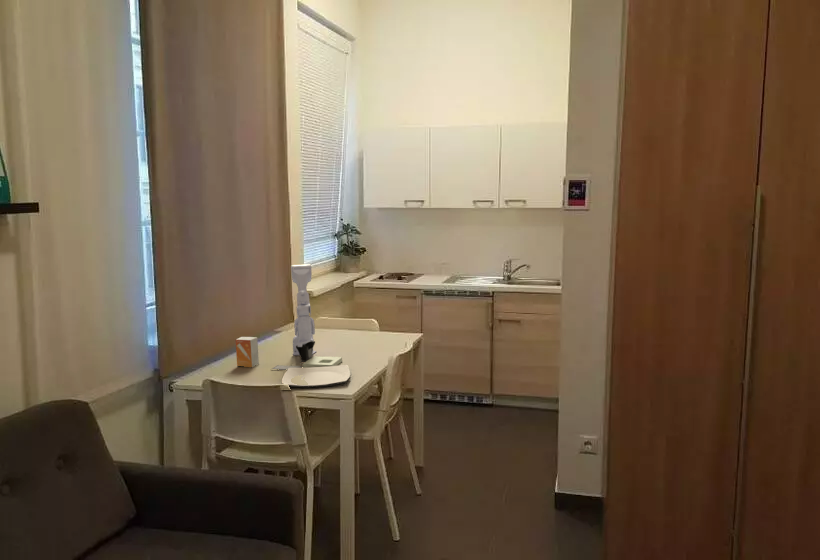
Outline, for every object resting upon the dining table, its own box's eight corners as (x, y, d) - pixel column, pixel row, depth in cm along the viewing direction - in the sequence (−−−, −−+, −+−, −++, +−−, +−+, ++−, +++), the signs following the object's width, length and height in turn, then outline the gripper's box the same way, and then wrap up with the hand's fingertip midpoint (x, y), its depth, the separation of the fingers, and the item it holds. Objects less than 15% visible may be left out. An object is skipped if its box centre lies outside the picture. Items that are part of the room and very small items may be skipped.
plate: (286, 373, 303) (286, 367, 302) (350, 369, 304) (350, 363, 304) (278, 391, 274) (278, 385, 274) (349, 387, 276) (349, 381, 276)
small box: (236, 366, 315) (234, 339, 313) (244, 363, 321) (242, 336, 319) (252, 367, 312) (250, 339, 310) (259, 364, 318) (257, 336, 316)
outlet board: (302, 368, 308) (302, 364, 308) (314, 360, 321) (313, 356, 321) (331, 369, 304) (331, 364, 304) (342, 361, 318) (342, 357, 318)
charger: (301, 362, 319) (300, 348, 318) (304, 360, 322) (303, 346, 322) (309, 362, 318) (308, 348, 317) (312, 360, 322) (311, 346, 321)
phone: (270, 371, 307) (270, 369, 307) (277, 367, 314) (277, 365, 313) (297, 372, 304) (297, 369, 304) (303, 368, 310) (303, 365, 310)
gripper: (306, 333, 310) (308, 362, 312) (318, 327, 324) (320, 354, 326) (292, 333, 312) (294, 362, 314) (304, 326, 326) (306, 354, 328)
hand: (306, 358), depth 320 cm, fingers open, 6 cm apart
